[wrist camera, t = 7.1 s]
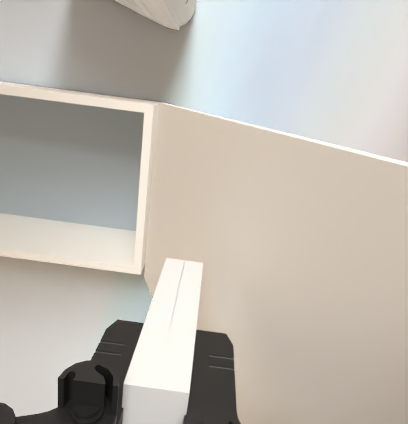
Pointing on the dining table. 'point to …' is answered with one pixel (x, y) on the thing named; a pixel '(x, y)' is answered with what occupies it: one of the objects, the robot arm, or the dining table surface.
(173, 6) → the photo printer
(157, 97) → the dining table surface
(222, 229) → the mailer lid
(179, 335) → the robot arm
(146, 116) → the box
